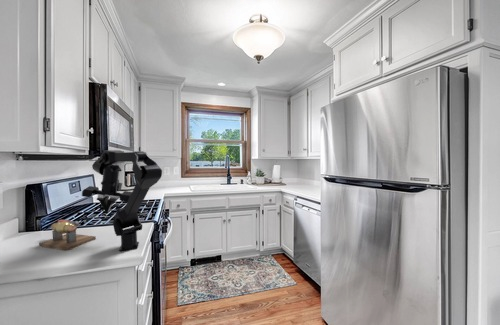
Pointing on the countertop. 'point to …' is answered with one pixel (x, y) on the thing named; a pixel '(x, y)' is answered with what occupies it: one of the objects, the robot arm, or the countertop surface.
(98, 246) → the countertop surface
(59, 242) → the mounting board
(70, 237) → the valve body
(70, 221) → the valve lever
